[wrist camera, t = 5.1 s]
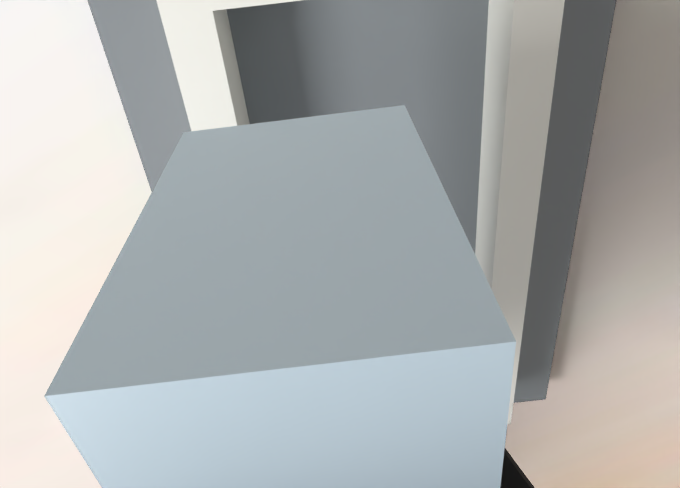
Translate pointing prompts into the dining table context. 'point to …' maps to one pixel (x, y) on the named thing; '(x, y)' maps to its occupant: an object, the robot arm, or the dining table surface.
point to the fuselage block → (293, 321)
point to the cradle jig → (395, 90)
